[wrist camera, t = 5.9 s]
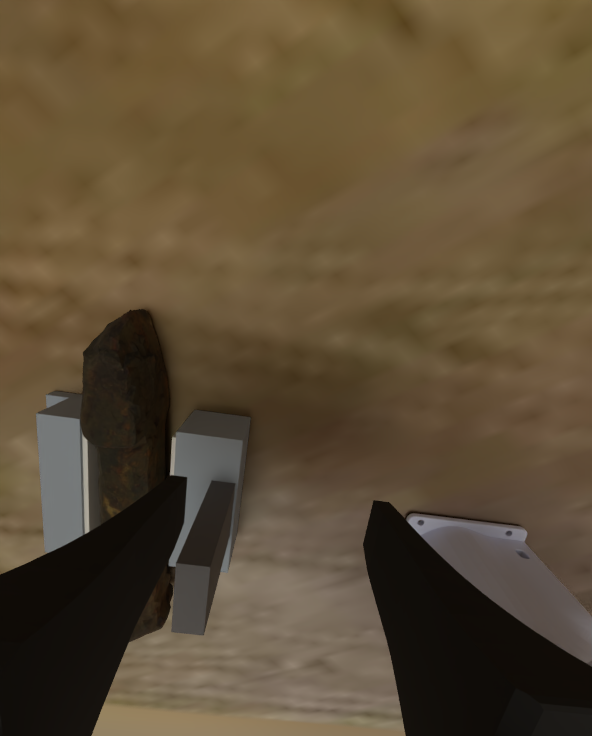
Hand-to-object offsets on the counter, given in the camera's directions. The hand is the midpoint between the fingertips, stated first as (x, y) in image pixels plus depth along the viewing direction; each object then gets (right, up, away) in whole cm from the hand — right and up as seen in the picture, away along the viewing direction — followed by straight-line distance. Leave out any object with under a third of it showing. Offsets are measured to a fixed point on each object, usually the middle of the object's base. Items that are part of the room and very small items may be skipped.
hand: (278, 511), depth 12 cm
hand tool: (-11, -2, +12) cm, 16 cm away
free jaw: (-5, -3, +11) cm, 13 cm away
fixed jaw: (-14, -1, +11) cm, 18 cm away
